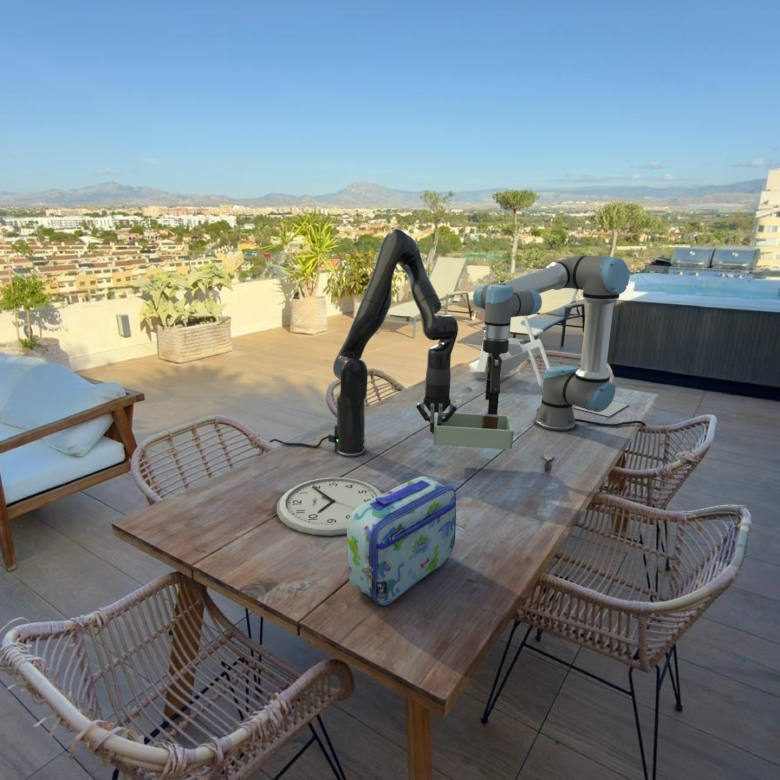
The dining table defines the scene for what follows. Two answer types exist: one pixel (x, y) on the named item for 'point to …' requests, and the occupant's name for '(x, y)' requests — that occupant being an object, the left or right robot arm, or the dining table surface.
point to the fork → (547, 459)
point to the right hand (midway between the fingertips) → (490, 406)
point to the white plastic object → (513, 356)
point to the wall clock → (324, 504)
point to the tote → (473, 432)
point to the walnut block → (489, 421)
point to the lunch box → (400, 538)
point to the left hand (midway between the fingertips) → (435, 433)
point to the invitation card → (608, 409)
